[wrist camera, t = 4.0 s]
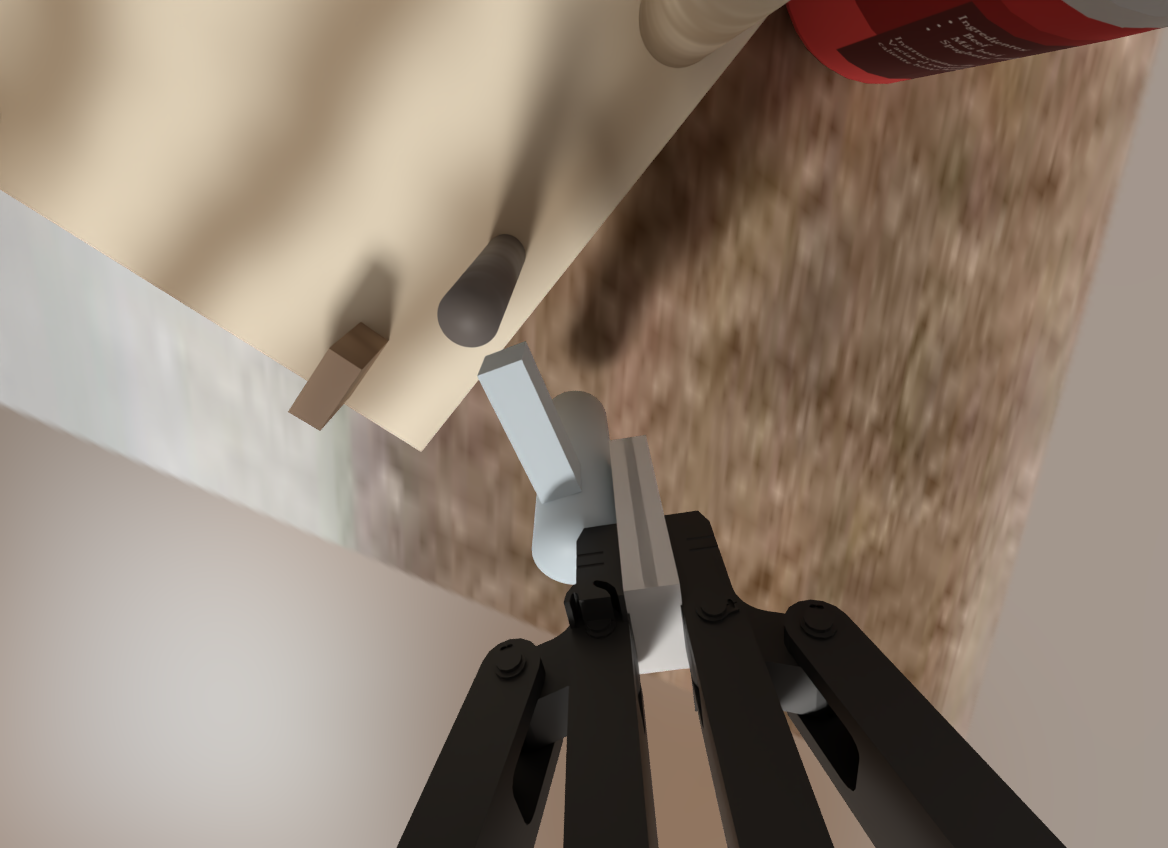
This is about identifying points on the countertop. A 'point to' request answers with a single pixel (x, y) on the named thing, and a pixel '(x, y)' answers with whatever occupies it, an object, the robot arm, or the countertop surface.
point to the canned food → (957, 31)
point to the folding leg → (554, 455)
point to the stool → (352, 163)
